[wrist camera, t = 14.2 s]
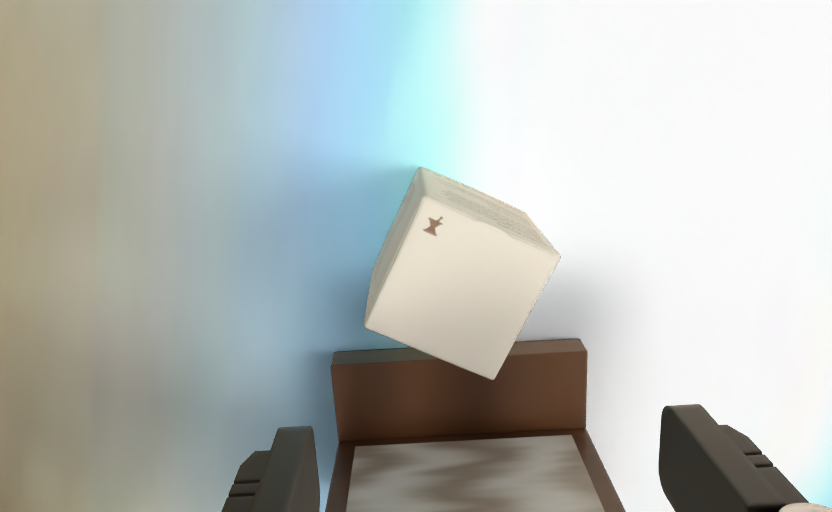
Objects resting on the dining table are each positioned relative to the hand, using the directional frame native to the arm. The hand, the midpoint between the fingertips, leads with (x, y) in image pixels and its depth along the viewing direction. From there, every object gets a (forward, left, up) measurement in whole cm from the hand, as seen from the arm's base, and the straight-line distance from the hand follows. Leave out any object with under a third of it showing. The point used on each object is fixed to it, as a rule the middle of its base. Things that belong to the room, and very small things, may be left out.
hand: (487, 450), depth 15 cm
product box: (0, 0, -19) cm, 19 cm away
